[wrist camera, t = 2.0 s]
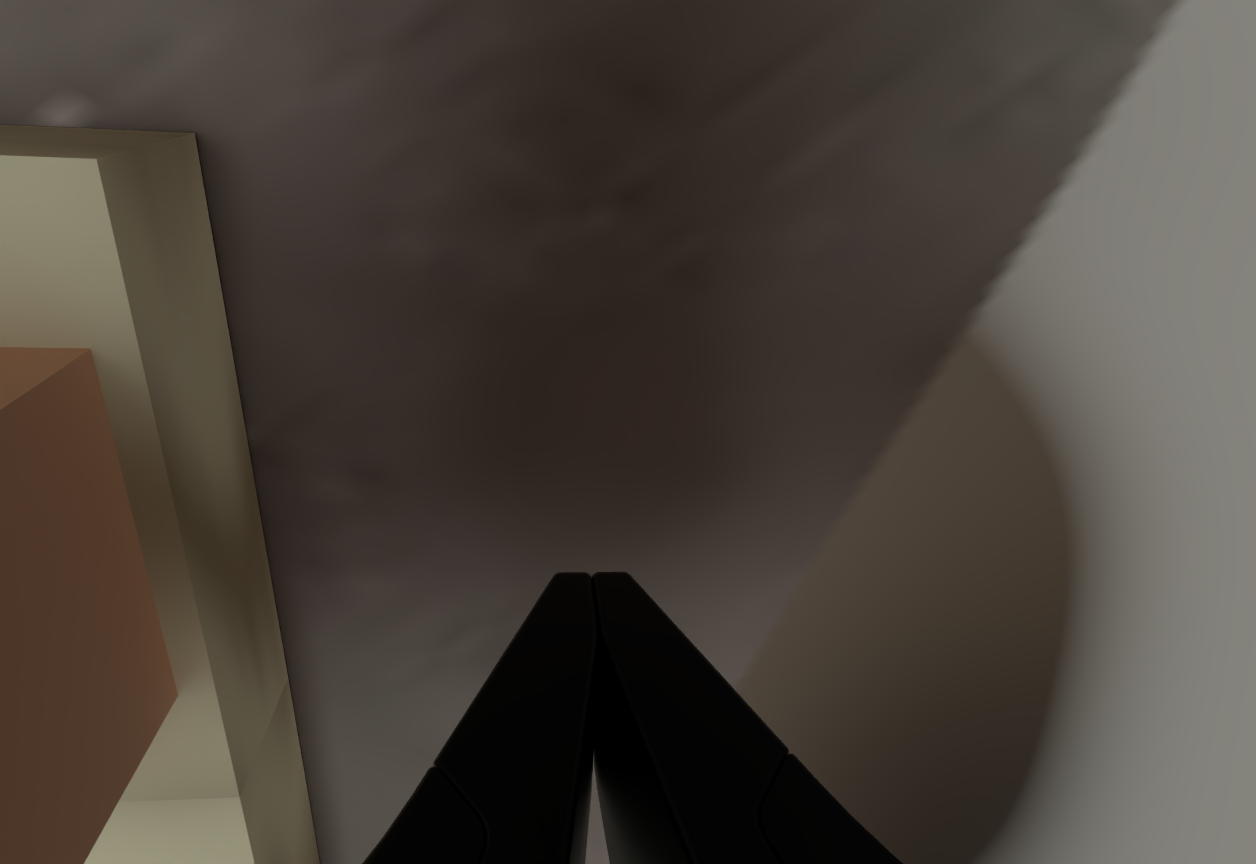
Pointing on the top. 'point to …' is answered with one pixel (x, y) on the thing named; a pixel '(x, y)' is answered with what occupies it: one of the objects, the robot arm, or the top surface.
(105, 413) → the block
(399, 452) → the top surface
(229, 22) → the top surface
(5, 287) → the tray
